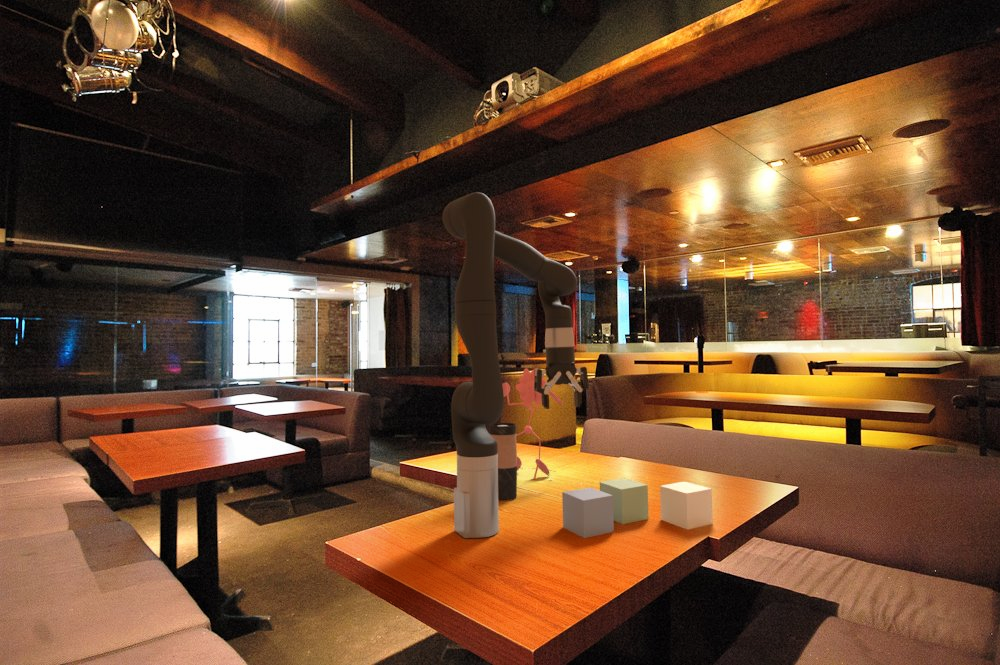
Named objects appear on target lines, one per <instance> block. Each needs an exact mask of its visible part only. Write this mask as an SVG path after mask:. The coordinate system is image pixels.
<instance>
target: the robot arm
mask: <svg viewBox="0 0 1000 665" xmlns="http://www.w3.org/2000/svg"><path fill="white" fill-rule="evenodd" d="M495 212H496V211H495V208H494V204H493V203H492V200H491V199H490V197H488V196H487V195H486V194H485V193H484V192H483V193H482V192H479V191H476V192H472V193H469V194H466V195H464V196H462V197H459V198H457V199H454V200H452V201H451V202H449V203H448V204H447V205H446V206H445V207H444V209H443V211H442V224H443V226H444V228H445V229H446V231H447V232H448V233H449V234H450V235H451V236H452V237H454V238H455V239H458V240H459V241H462V242H464V243H465V257H464V262H463V265H462V266H463V267H462V270H461V272H460V274H459V278H458V281H457V283H456V286H455V293H454V316H455V317H454V318H455V326H456V329H457V332H458V334H459V336H460V339H461V340H462V343H463V345H464V347H465V349H466V351H467V353H468V356H469V359H470V363H471V375H472V381H464V382H462V383H460V384H459V385H458V386H457V387H456V388H455V389H454V391H453V394H452V397H451V406H450V408H451V409H450V410H451V430H452V440H453V442H454V445H455V447H456V448H455V449H456V487H454V488H453V526H454V528H453V529H454V531H455V532H456V533H457V534H458V535H460V536H461V537H462V538H463V539H469V538H472V539H473V538H474V539H480V538H488V537H492V536H495V535H496V534H497V533H499V530H500V526H499V525H500V518H499V517H500V516H499V515H500V514H499V500H498V445H497V441H496V440H495V439H494V438H493V437H492V436H491V435H490V434H489V431H488V429H487V426H486V425H493V424H494V423H497V422H498V421H499V419H500V418H501V417H502V414H503V411H504V405H505V397H504V394H503V386H502V384H503V381H502V374H501V367H500V366H501V365H500V361H499V349H498V345H499V344H498V335H497V334H498V333H497V331H498V330H497V303H496V292H495V290H496V289H495V262H494V261H495V259H494V258H496V259H498V260H499V261H502V262H503V263H504V264H506V265H507V266H510V267H511V268H512V269H514V270H515V271H516V272H518V273H520V274H521V275H522V276H524V277H525V278H527V279H528V280H529V281H531V282H537V290H538V294H539V297H540V298H539V299H540V302H541V306H542V308H543V312H544V316H545V318H544V319H545V336H544V340H545V341H544V346H545V369H543V368H542V369H541V368H537V369H536V368H534V369H535V371H534V391H536V392H539V393H541V395H542V401H541V406H542V407H544V409H545V410H549V409H550V395H549V391H551V390H552V388H553V387H554V385H556V386H559V385H560V386H561V385H570V386H571V388H573V390H574V392H573V395H574V396H573V398H574V399H573V400H574V401H573V402H574V407H576V408H580V407H581V405H582V403H583V398H582V397H583V396H582V395H583V391H586V390H588V389H589V378H588V368H587V367H586V366H579V367H576V365H575V364H576V358H575V357H576V355H575V353H576V352H575V336H574V331H573V330H574V329H573V311H572V308H571V306H570V305H566V304H562V302H561V300H560V297H565V296H568V295H571V294H573V293H574V292H575V291H576V289H577V287H578V279H577V276H576V274H575V272H574V271H573V270H572V269H571V268H569V267H568V266H566V265H565V264H562V263H561V262H558V261H556V260H554V259H550V258H548V257H546V256H544V255H543V254H542V253H541V252H540V251H538V250H537V249H536V248H535V247H533V246H531V245H530V244H528V243H527V242H525V241H522V240H520V239H518V238H515V237H514V236H513V237H512V236H509V235H507V234H504V233H503V232H500V231H498V230H496V213H495ZM576 374H577V375H579V382H578V381H577V379H576V377H575V375H576ZM543 376H544V377H545V376H546V377H547V380H545V381H546V382H545V385H544V387H543V388H542V377H543Z"/></svg>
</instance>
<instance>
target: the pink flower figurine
mask: <svg viewBox="0 0 1000 665" xmlns="http://www.w3.org/2000/svg"><path fill="white" fill-rule="evenodd" d="M535 369H538V368H534V369H532V370H531V371H529V369H528V368H527V367H526V368H524V369H523V372H522V375H521V374H520V376H519V378H518V379H519V383H517V384H516V385H515V390H516V391H517V392H519V393H520V395H519V400H522V401H521V402H514V403H513V402H511V403H510V394H509V393H511V386H510V384H509V383H508V382H507V381H506V382H502V386H503V394H504V398H505V397H506V398H507V405H508V406H514V405H515V406H516V405H522V406H524V407H525V408H527V409H528V410H530V411H531V412H530V417H529V422H528V425H526V426H524V428H523V431H522V432H519V433H518V434H517V433H516V437H518V436H519V435H521V434H524V433H525V434H526V435H530V434H533V435H534V436H535V437H536V438H537V439H538V440H539V442H538V443H539V446H538V458H535V464H536V467H533V469H535V472H534V475H533V479H534V480H536V478H537V473H538V470H540V471H541V472H542V473H544V474H545V475H546V476H548V477H550V472H551V471H552V472H555V473H556V472H557V471H555V470H551V469H549V468H548V466H547V465H546V464H545V463H544V462H543V460H541V438H540V437H539V436H538V435H537V433H535V432H534V431H533V428H532V426H531V421H532V417H533V414H534V411H533V410H535V411H536V410H537V409H538V407H539V405H540V404H542V395H541V393H539V392H536V391H534V371H535ZM544 378H545V375H544V376H543V377H542V388H543V387H544V385H545V382H546V381H547V380H544ZM548 395H549V397H551V398H552V399H553V400H554V401H555V402H556V403H557V404H559V405H560V406H562V407H564V404H563V402H562V401H561V400H560V398H559V397H558V396H557V395H556V394H555V393H554V392H553V391H552V390H550V391H549V393H548ZM533 402H534V403H535V405H536V406H535V407H534V406H532V404H533ZM522 464H523V463H522V460H521V457H519V456H517V472H518V471H519V470H520V469H521V468H522ZM552 481H553V480H549V482H552Z"/></svg>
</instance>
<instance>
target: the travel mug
mask: <svg viewBox="0 0 1000 665" xmlns="http://www.w3.org/2000/svg"><path fill="white" fill-rule="evenodd" d="M488 427H489V428H488V429H489V431H488V433H489V434H490V435H491V436H492V437H493V438H494V439H495V440H496V441H497V445H498V501H501V500H502V501H503V502H505V501H512V500H515V499H516V498H517V490H518V489H517V488H518V487H517V486H518V485H517V484H518V483H517V482H518V480H517V479H518V471H517V457H518V456H517V454H518V450H517V436H516V435H517V424H516V423H513V422H495V423H493V424H488ZM514 498H515V499H514ZM511 499H512V500H511ZM504 500H505V501H504Z"/></svg>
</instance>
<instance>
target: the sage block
mask: <svg viewBox="0 0 1000 665" xmlns="http://www.w3.org/2000/svg"><path fill="white" fill-rule="evenodd" d="M648 486H649V485H648V484H645V483H643V482H640V481H639V482H638V481H635V480H632V479H629V478H626V477H623V478H618V479H617V478H616V479H611V480H604V481H599V491H602V492H605V493H608V494H610V495H613V520H614V522H616V523H618V524H621V525H626V524H630V523H634V522H639V521H644V520H649V488H648Z"/></svg>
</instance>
